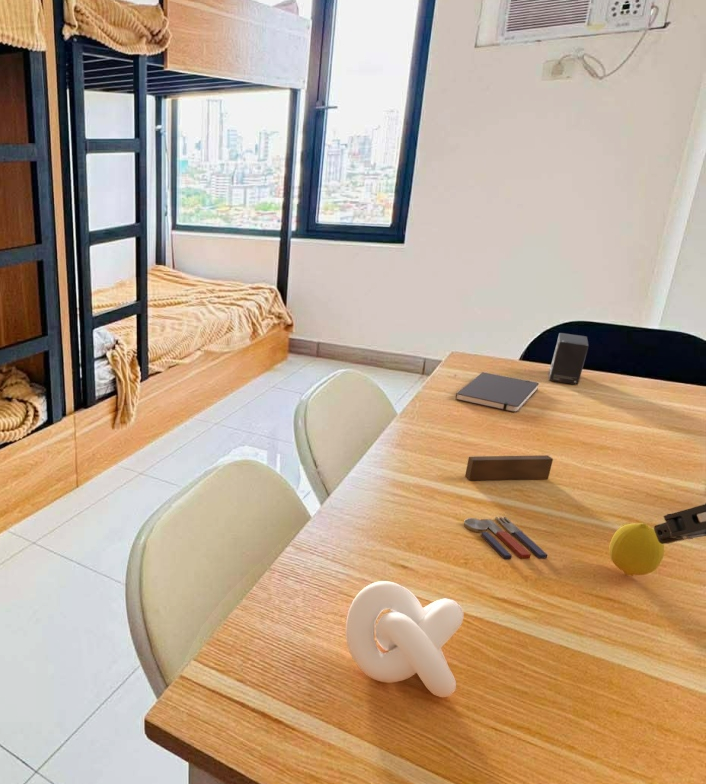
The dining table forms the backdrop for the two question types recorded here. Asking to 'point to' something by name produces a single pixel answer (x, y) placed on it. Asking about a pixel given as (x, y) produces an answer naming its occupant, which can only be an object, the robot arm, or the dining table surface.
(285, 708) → the dining table surface
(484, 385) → the notebook
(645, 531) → the lemon
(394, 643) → the white knot sculpture
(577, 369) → the small box
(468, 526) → the cutlery
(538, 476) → the back rail
